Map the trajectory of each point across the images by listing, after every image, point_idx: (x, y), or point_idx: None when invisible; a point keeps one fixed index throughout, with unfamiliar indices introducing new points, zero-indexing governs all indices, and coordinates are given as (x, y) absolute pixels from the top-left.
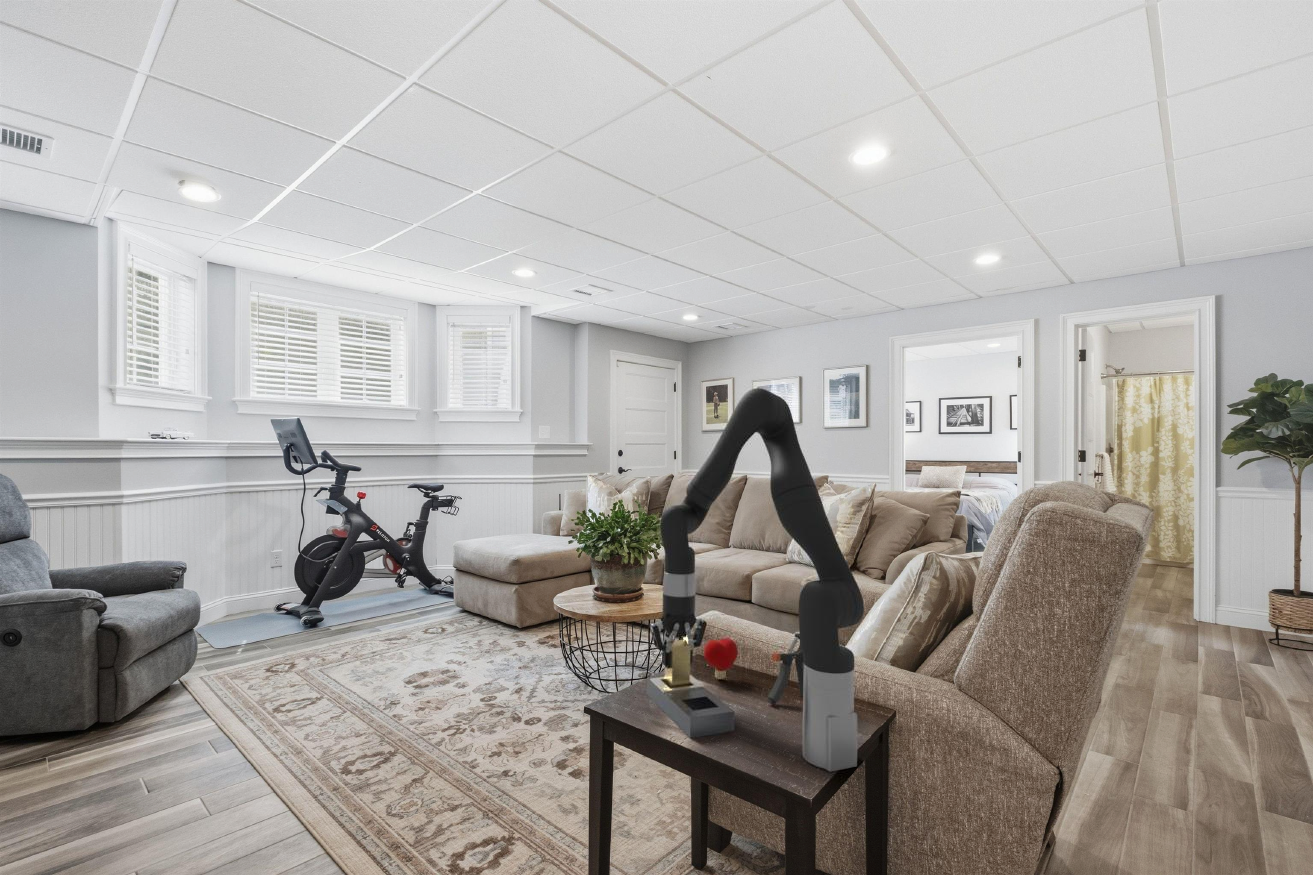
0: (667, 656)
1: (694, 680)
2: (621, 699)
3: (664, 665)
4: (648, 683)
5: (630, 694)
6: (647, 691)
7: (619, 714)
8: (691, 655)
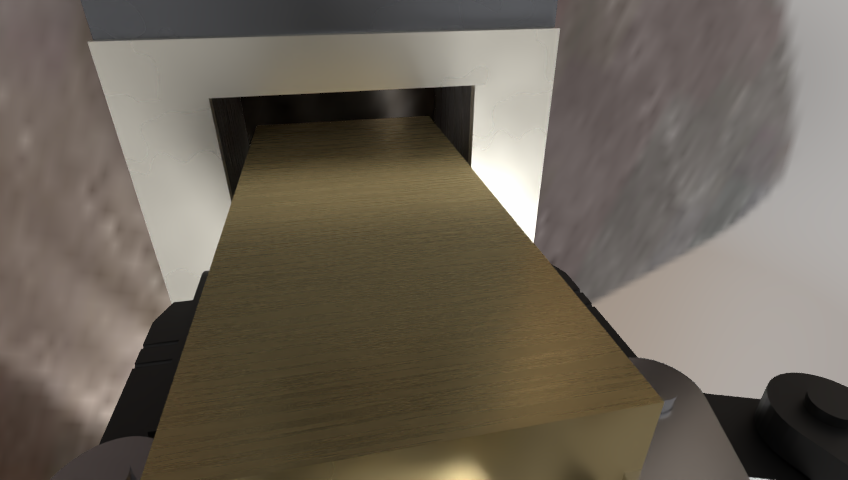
0: None
1: (176, 217)
2: (629, 248)
3: None
4: None
5: None
6: None
7: (749, 55)
8: (151, 380)
